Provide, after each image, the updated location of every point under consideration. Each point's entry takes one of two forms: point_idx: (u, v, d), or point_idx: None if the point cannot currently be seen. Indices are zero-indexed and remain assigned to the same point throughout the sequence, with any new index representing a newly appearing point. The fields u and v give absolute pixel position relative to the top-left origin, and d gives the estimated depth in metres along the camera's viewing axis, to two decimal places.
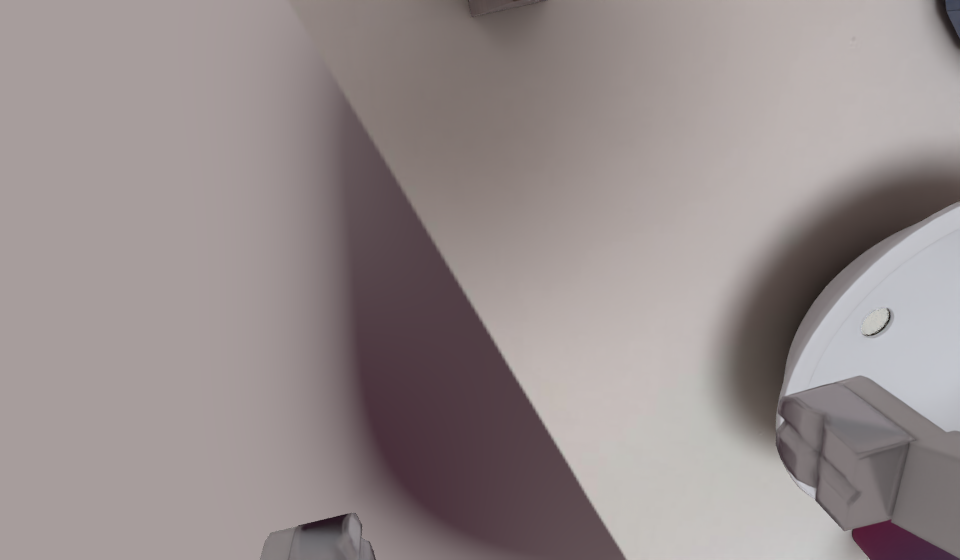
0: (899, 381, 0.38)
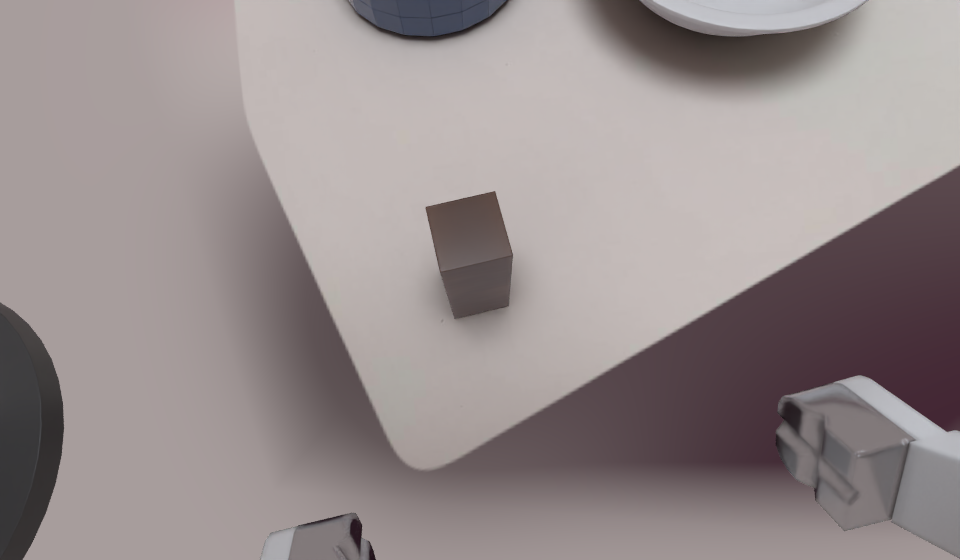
0: None
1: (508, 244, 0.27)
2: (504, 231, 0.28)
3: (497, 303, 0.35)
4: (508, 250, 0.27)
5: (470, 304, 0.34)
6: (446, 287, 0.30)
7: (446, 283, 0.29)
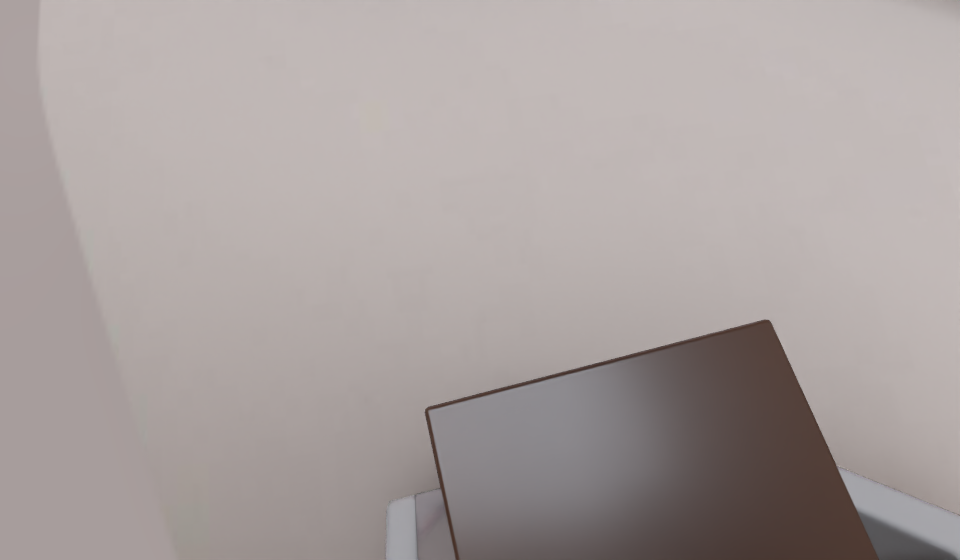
0: None
1: None
2: None
3: None
4: None
5: None
6: None
7: None
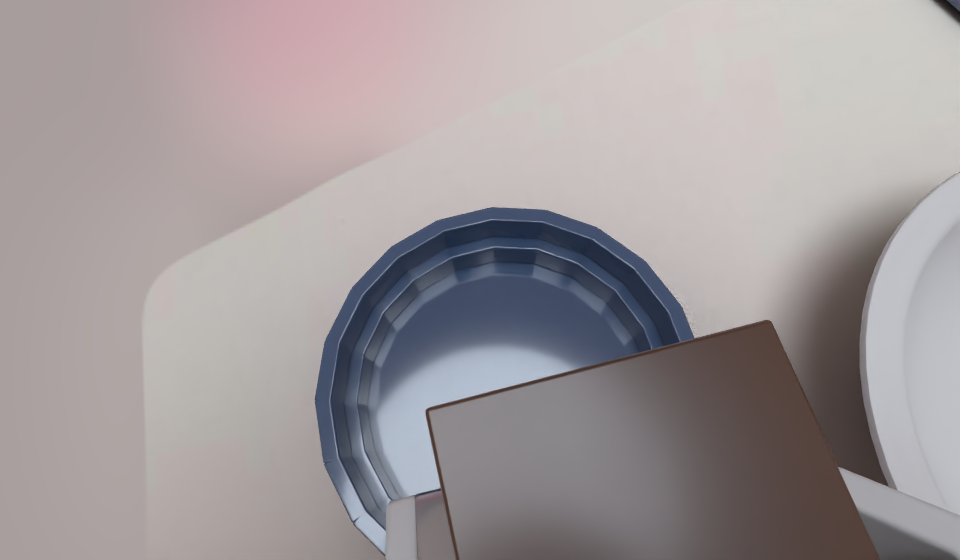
0: None
1: None
2: None
3: None
4: None
5: None
6: None
7: None
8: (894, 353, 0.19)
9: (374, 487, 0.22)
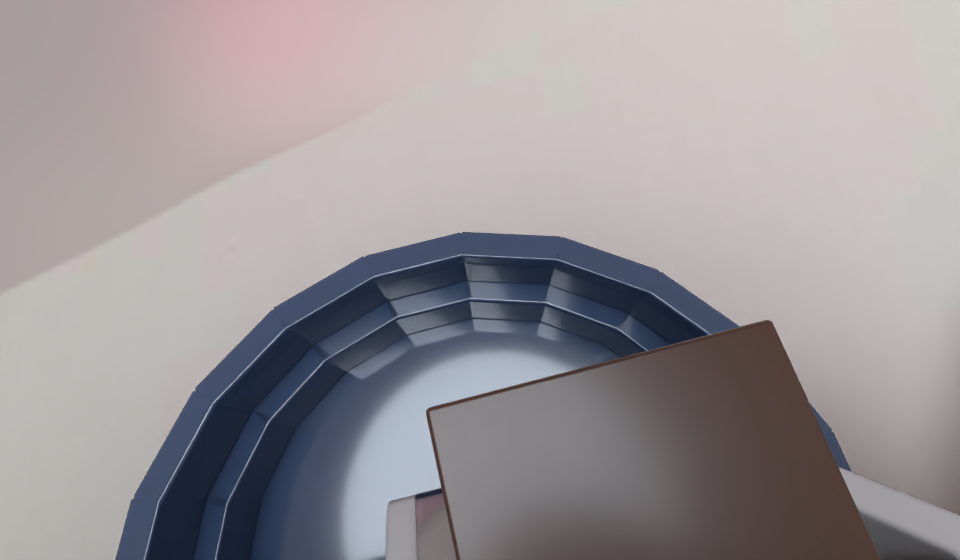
0: None
1: None
2: None
3: None
4: None
5: None
6: None
7: None
8: None
9: None
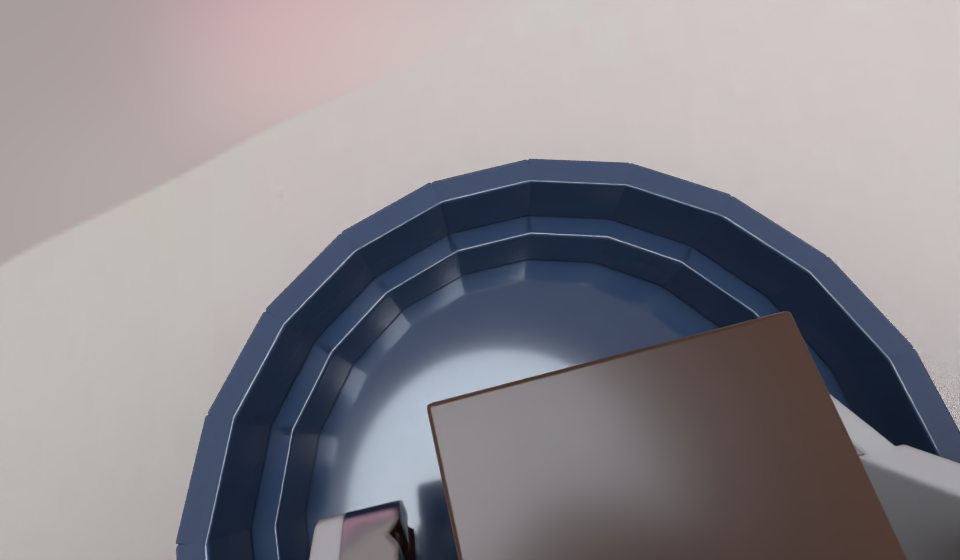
0: None
1: None
2: None
3: None
4: None
5: None
6: None
7: None
8: None
9: None
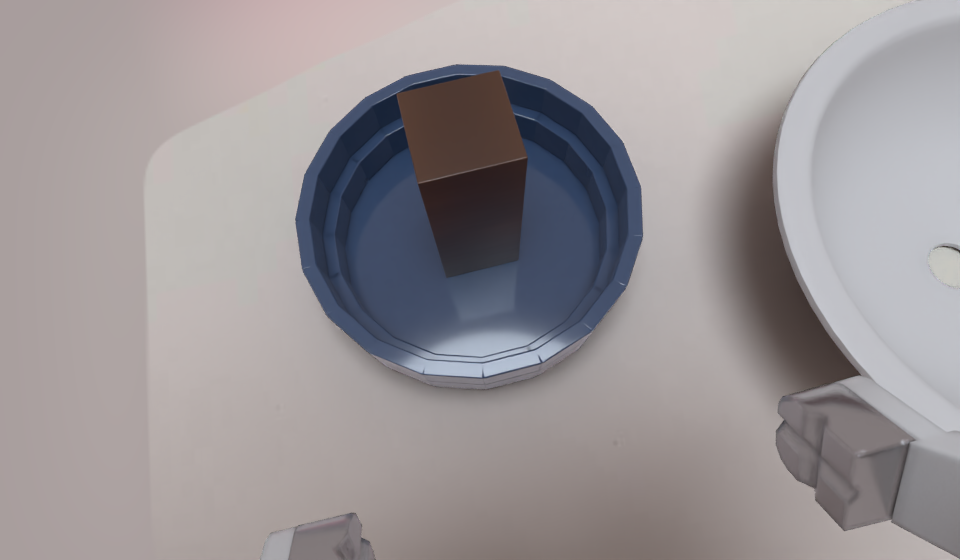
0: None
1: (521, 142, 0.18)
2: (514, 124, 0.18)
3: (503, 254, 0.26)
4: (521, 150, 0.18)
5: (466, 253, 0.25)
6: (430, 217, 0.20)
7: (429, 208, 0.20)
8: (802, 160, 0.22)
9: (348, 302, 0.25)
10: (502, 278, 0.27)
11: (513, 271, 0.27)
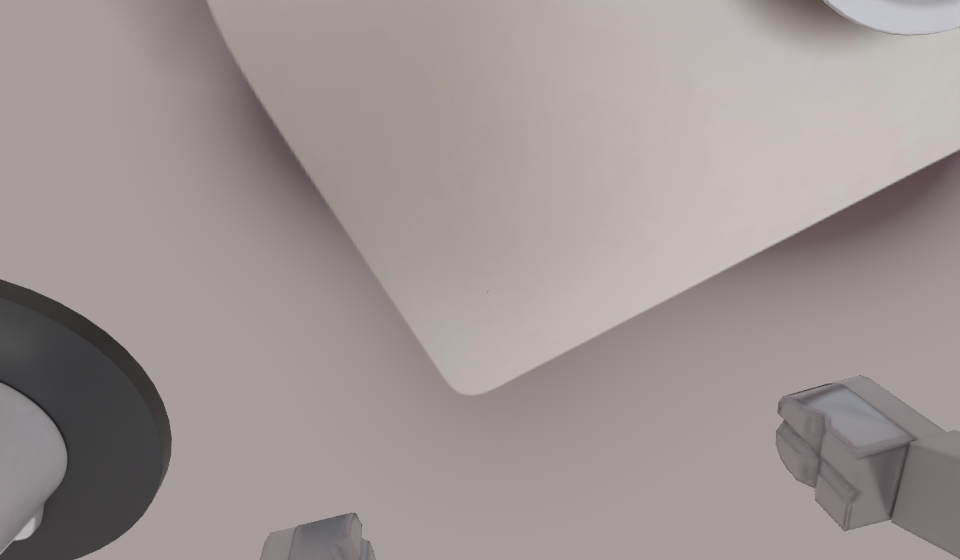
0: None
1: None
2: None
3: None
4: None
5: None
6: None
7: None
8: None
9: None
10: None
11: None
